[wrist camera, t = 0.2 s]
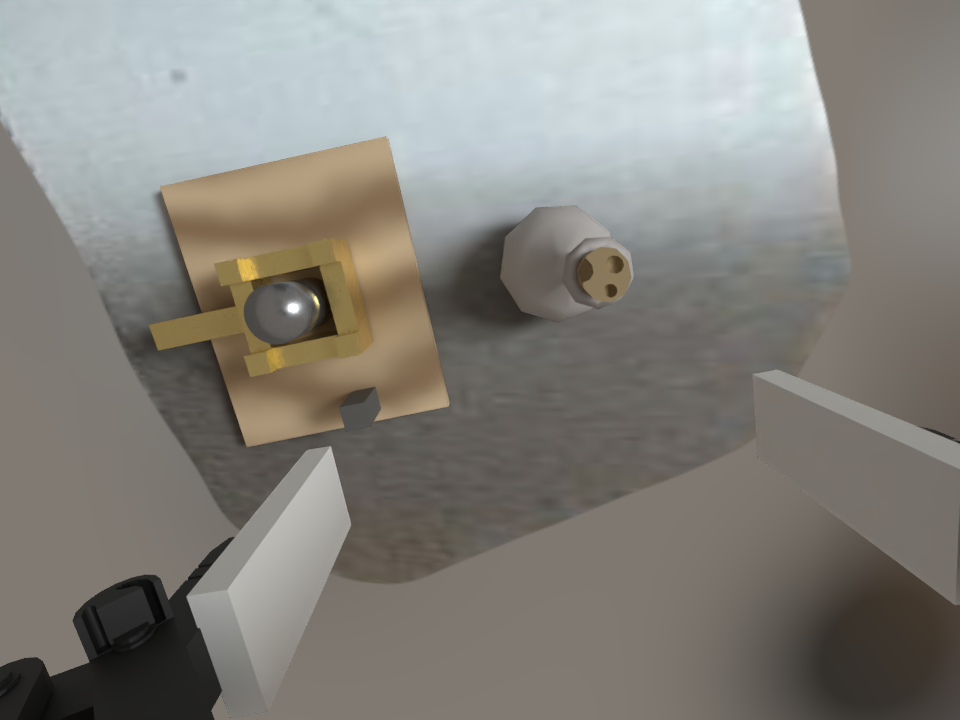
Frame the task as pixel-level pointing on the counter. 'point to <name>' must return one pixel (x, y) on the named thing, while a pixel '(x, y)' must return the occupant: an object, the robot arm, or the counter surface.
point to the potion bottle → (563, 264)
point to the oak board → (296, 222)
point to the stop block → (360, 409)
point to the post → (287, 309)
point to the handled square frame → (257, 272)
